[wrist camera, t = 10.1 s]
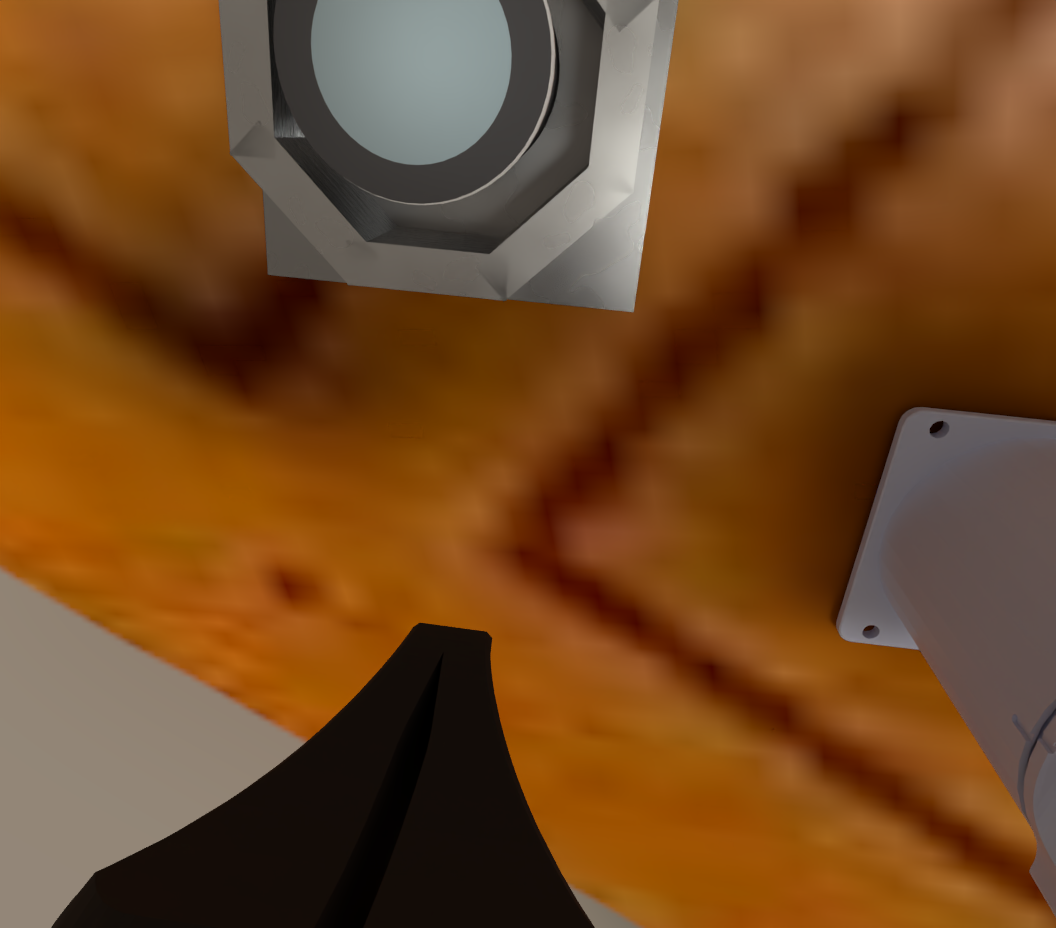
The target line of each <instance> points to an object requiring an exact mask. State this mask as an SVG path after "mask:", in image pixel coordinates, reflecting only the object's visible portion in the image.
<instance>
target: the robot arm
mask: <svg viewBox="0 0 1056 928" xmlns="http://www.w3.org/2000/svg"><path fill="white" fill-rule="evenodd" d="M937 421H943V427H942V428H941V430H939V431H938V432H936V433H930V428H931V426H932V424H934V423H936V422H937ZM869 625H875V626H874V628H873V629H871V630H869V631H863V629H864V628H865V627H867V626H869ZM836 628H837V630H838V632H839V634H840V636H841V637H842V638H843V639H844V640H847V641H850V642H858V643H866V644H875V645H883V646H891V647H900V648H908V649H917V650H920V651H921V653H922V655H923V656H924V658H925V659H926V661H927V663H928V664H929V666H930V667H931V669H932V670H933V672H934V674H935V675H936V677H937V678H938V680H939V682H940V683H941V685H942V686H943V688H944V690H945V691H946V693H947V694H948V696H949V698H950V699H951V701H952V702H953V704H954V705H955V707H956V709H957V710H958V712H959V713H960V715H961V717H962V718H963V720H964V721H965V723H966V725H967V726H968V728H969V729H970V731H971V733H972V734H973V736H974V737H975V739H976V740H977V742H978V744H979V745H980V747H981V748H982V750H983V752H984V753H985V755H986V756H987V758H988V760H989V761H990V763H991V764H992V766H993V768H994V769H995V771H996V772H997V774H998V775H999V777H1000V779H1001V780H1002V782H1003V783H1004V785H1005V787H1006V788H1007V790H1008V791H1009V793H1010V795H1011V796H1012V798H1013V799H1014V801H1015V803H1016V804H1017V806H1018V807H1019V809H1020V810H1021V812H1022V814H1023V815H1024V817H1025V818H1026V820H1027V822H1028V823H1029V825H1030V826H1031V828H1032V830H1033V832H1034V835H1035V837H1036V840H1037V853H1036V858H1035V861H1034V862H1033V864H1032V866H1031V868H1030V871H1029V872H1030V874H1031V876H1032V877H1033V879H1034V881H1035V883H1036V884H1037V886H1038V888H1039V889H1040V891H1041V893H1042V894H1043V896H1044V898H1045V900H1046V901H1047V903H1048V905H1049V906H1050V908H1051V910H1052V911H1053V913H1054V915H1055V917H1056V421H1050V420H1041V419H1031V418H1022V417H1012V416H1003V415H993V414H984V413H975V412H965V411H956V410H946V409H937V408H927V407H915V408H912V409H910V410H908V411H906V412H905V413H904V414H903V415H902V417H901V418H900V420H899V423H898V426H897V429H896V432H895V435H894V439H893V442H892V445H891V448H890V451H889V455H888V458H887V461H886V464H885V467H884V471H883V474H882V477H881V480H880V483H879V487H878V490H877V493H876V496H875V499H874V503H873V506H872V509H871V512H870V515H869V519H868V522H867V525H866V528H865V531H864V535H863V538H862V541H861V544H860V547H859V551H858V554H857V557H856V560H855V563H854V567H853V570H852V573H851V576H850V579H849V583H848V586H847V589H846V592H845V595H844V599H843V602H842V605H841V608H840V611H839V614H838V618H837V621H836ZM491 643H492V637H491V636H490V635H489V634H488V633H487V632H485V631H477V630H470V629H463V628H455V627H448V626H440V625H433V624H426V623H419V624H417V625H416V626H414V627H413V628H412V630H411V631H410V633H409V634H408V635H407V637H406V638H405V639H404V641H403V642H402V643H401V645H400V646H399V647H398V648H397V650H396V651H395V652H394V653H393V655H392V656H391V657H390V658H389V659H388V661H387V662H386V663H385V664H384V665H383V666H382V668H381V669H380V670H379V671H378V672H377V673H376V674H375V675H374V677H373V678H372V679H371V680H370V681H369V682H368V683H367V684H366V685H365V686H364V687H363V689H362V690H361V691H360V692H359V693H358V694H357V695H356V696H355V697H354V698H353V699H352V700H351V701H350V702H349V703H348V704H347V705H346V706H345V707H344V708H343V709H342V710H341V711H340V712H339V713H338V714H337V715H336V716H334V717H333V718H332V719H331V720H330V721H329V722H328V723H327V724H326V725H325V726H324V727H323V728H322V729H321V730H320V731H319V732H317V733H316V734H315V735H314V736H313V737H312V738H311V739H309V740H308V741H307V742H306V743H305V744H304V745H302V746H301V747H300V748H299V749H298V750H296V751H295V752H294V753H293V754H291V755H290V756H289V757H288V758H286V759H285V760H284V761H283V762H281V763H280V764H279V765H277V766H276V767H275V768H273V769H272V770H271V771H269V772H268V773H267V774H265V775H264V776H262V777H261V778H260V779H258V780H257V781H256V782H254V783H253V784H252V785H250V786H249V787H248V788H246V789H244V790H243V791H242V792H240V793H239V794H237V795H236V796H234V797H233V798H231V799H230V800H228V801H227V802H225V803H223V804H222V805H220V806H218V807H217V808H215V809H213V810H212V811H210V812H209V813H207V814H205V815H204V816H202V817H201V818H199V819H197V820H196V821H194V822H192V823H190V824H189V825H187V826H186V827H184V828H182V829H180V830H179V831H177V832H175V833H173V834H172V835H170V836H168V837H166V838H164V839H162V840H161V841H159V842H157V843H155V844H153V845H151V846H149V847H146V848H144V849H142V850H141V851H138V852H136V853H135V854H133V855H130V856H128V857H126V858H125V859H123V860H120V861H118V862H116V863H114V864H112V865H110V866H108V867H106V868H104V869H102V870H99V871H97V872H95V873H94V875H93V876H92V877H91V878H90V879H89V881H88V882H87V883H86V884H85V886H84V887H83V888H82V889H81V891H80V892H79V893H78V894H77V895H76V896H75V897H74V899H73V900H72V901H71V902H70V903H69V905H68V906H67V907H66V908H65V910H64V911H63V912H62V914H61V915H60V916H59V918H58V919H57V920H56V921H55V923H54V924H53V926H52V928H594V926H593V924H592V923H591V921H590V920H589V918H588V917H587V915H586V914H585V912H584V910H583V909H582V907H581V906H580V904H579V902H578V901H577V899H576V898H575V896H574V894H573V892H572V891H571V889H570V887H569V885H568V884H567V882H566V880H565V879H564V877H563V875H562V874H561V872H560V870H559V868H558V866H557V864H556V862H555V860H554V858H553V856H552V854H551V852H550V850H549V848H548V846H547V844H546V843H545V841H544V839H543V837H542V835H541V833H540V831H539V829H538V827H537V825H536V822H535V820H534V818H533V815H532V813H531V811H530V808H529V806H528V804H527V801H526V799H525V796H524V794H523V791H522V789H521V786H520V784H519V781H518V778H517V775H516V773H515V770H514V767H513V764H512V761H511V758H510V754H509V751H508V748H507V744H506V741H505V738H504V734H503V730H502V726H501V722H500V718H499V713H498V709H497V704H496V699H495V694H494V688H493V681H492V673H491V661H490V652H491Z"/></svg>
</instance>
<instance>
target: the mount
mask: <svg viewBox="0 0 1056 928" xmlns="http://www.w3.org/2000/svg"><path fill="white" fill-rule="evenodd" d="M547 3H548V7H549V10H550V13H551V19H552V23H553V26H554V30H555V33H556V37H557V43H558V48H559V60H560V73H559V85H558V90H557V96H556V100H555V103H554V107H553V110H552V113H551V115H550V117H549V120H548V122H547V124H546V126H545V128H544V129H543V131H542V133H541V134H540V136H539V138H538V139H537V140H536V141H535V143H534V144H533V145H532V147H531V148H530V149H529V150H528V151H527V152H526V153H525V154H524V155H523V156H522V157H521V158H520V159H519V160H518V161H517V162H516V163H515V164H514V165H513V166H512V167H511V168H510V169H509V170H508V171H507V172H506V173H505V174H504V175H502V176H501V177H500V178H498V179H497V180H496V181H495V182H493V183H492V184H491V185H489V186H487V187H486V188H484V189H482V190H480V191H479V192H477V193H475V194H473V195H470V196H468V197H465V198H462V199H460V200H456V201H452V202H448V203H443V204H434V205H411V204H404V203H399V202H394V201H390V200H387V199H384V198H381V197H378V196H375V195H373V194H371V193H369V192H367V191H365V190H363V189H361V188H359V187H357V186H356V185H354V184H353V183H351V182H350V181H348V180H347V179H345V178H344V177H342V176H341V175H340V174H339V173H338V172H336V171H335V170H334V169H333V168H332V167H330V166H329V165H328V164H327V163H326V162H325V161H324V160H323V158H322V157H321V156H320V155H319V154H318V153H317V152H316V151H315V150H314V148H313V147H312V146H311V144H310V143H309V142H308V140H307V139H306V138H305V136H304V135H303V133H302V131H301V130H300V128H299V126H298V125H297V123H296V121H295V119H294V118H293V115H292V113H291V111H290V109H289V106H288V104H287V102H286V99H285V96H284V93H283V90H282V87H281V84H280V81H279V76H278V71H277V66H276V62H275V52H274V42H273V30H274V13H275V6H276V0H219V11H220V24H221V37H222V50H223V63H224V76H225V89H226V102H227V116H228V129H229V142H230V155H232V156H233V157H234V158H235V160H236V161H237V162H238V163H239V164H240V165H241V166H242V167H243V168H244V169H245V171H246V172H247V173H248V174H249V175H250V176H251V177H252V178H253V179H254V181H255V182H256V183H257V184H258V185H259V186H260V187H261V188H262V189H263V201H264V217H265V234H266V250H267V267H268V275H275V276H285V277H295V278H304V279H314V280H324V281H334V282H344V283H347V285H349V286H350V285H356V286H366V287H376V288H386V289H396V290H405V291H415V292H425V293H435V294H445V295H454V296H464V297H474V298H484V299H493V300H503V301H506V300H507V299H510V300H520V301H530V302H539V303H549V304H559V305H569V306H579V307H588V308H598V309H608V310H618V311H628V312H634V305H635V298H636V291H637V284H638V277H639V270H640V263H641V257H642V250H643V243H644V236H645V229H646V222H647V215H648V208H649V201H650V194H651V187H652V180H653V173H654V166H655V159H656V152H657V145H658V138H659V131H660V124H661V117H662V111H663V104H664V97H665V90H666V83H667V76H668V69H669V62H670V55H671V48H672V41H673V34H674V27H675V20H676V13H677V6H678V0H547Z"/></svg>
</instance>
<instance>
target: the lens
mask: <svg viewBox="0 0 1056 928" xmlns="http://www.w3.org/2000/svg"><path fill="white" fill-rule="evenodd" d="M273 42H274V52H275V62H276V66H277V71H278V76H279V81H280V84H281V87H282V90H283V93H284V96H285V99H286V102H287V104H288V106H289V109H290V111H291V113H292V115H293V118H294V119H295V121H296V123H297V125H298V126H299V128H300V130H301V131H302V133H303V135H304V136H305V138H306V139H307V140H308V142H309V143H310V144H311V146H312V147H313V148H314V150H315V151H316V152H317V153H318V154H319V155H320V156H321V157H322V158H323V160H324V161H325V162H326V163H327V164H328V165H329V166H330V167H332V168H333V169H334V170H335V171H336V172H338V173H339V174H340V175H341V176H342V177H344V178H345V179H347V180H348V181H350V182H351V183H353V184H354V185H356V186H357V187H359V188H361V189H363V190H365V191H367V192H369V193H371V194H373V195H375V196H378V197H381V198H384V199H387V200H390V201H394V202H399V203H404V204H411V205H434V204H443V203H448V202H452V201H456V200H460V199H462V198H465V197H468V196H470V195H473V194H475V193H477V192H479V191H480V190H482V189H484V188H486V187H487V186H489V185H491V184H492V183H493V182H495V181H496V180H497V179H498V178H500V177H501V176H502V175H504V174H505V173H506V172H507V171H508V170H509V169H510V168H511V167H512V166H513V165H514V164H515V163H516V162H517V161H518V160H519V159H520V158H521V157H522V156H523V155H524V154H525V153H526V152H527V151H528V150H529V149H530V148H531V147H532V145H533V144H534V143H535V141H536V140H537V139H538V138H539V136H540V134H541V133H542V131H543V129H544V128H545V126H546V124H547V122H548V120H549V117H550V115H551V113H552V110H553V107H554V103H555V100H556V96H557V90H558V85H559V73H560V60H559V48H558V43H557V37H556V33H555V30H554V26H553V23H552V19H551V13H550V10H549V7H548V3H547V0H276V6H275V13H274V30H273Z"/></svg>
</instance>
